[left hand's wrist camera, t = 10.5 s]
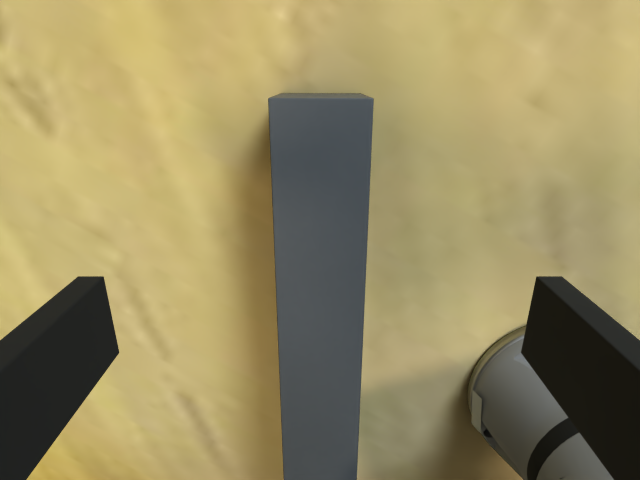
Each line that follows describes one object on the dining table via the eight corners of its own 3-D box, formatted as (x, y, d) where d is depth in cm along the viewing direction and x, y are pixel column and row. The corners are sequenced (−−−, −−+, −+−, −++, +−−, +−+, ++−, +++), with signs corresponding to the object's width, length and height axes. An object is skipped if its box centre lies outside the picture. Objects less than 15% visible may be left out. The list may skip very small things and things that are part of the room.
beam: (280, 93, 31) (268, 97, 24) (361, 93, 31) (373, 98, 24) (296, 605, 53) (292, 688, 45) (343, 605, 53) (347, 688, 45)
